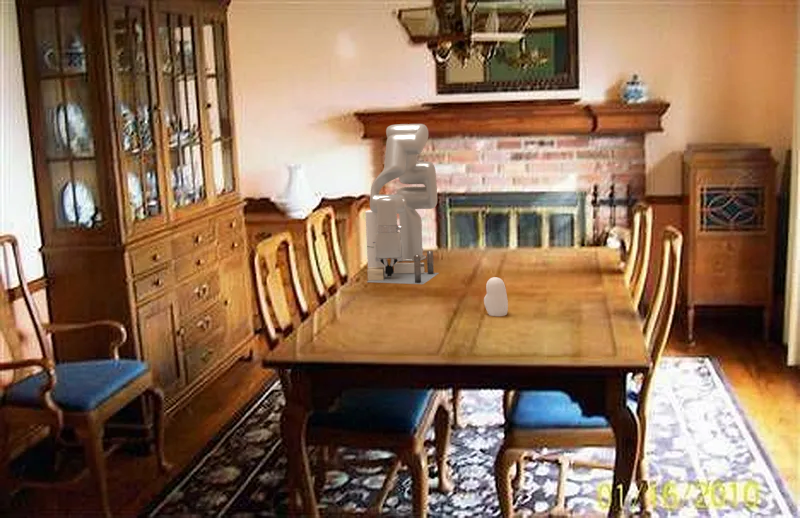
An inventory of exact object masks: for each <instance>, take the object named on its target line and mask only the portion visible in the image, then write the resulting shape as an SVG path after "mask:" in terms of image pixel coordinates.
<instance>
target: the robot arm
mask: <svg viewBox="0 0 800 518" xmlns="http://www.w3.org/2000/svg"><path fill="white" fill-rule="evenodd" d="M385 133H386V138H387V139H386V142H385V143H386V145H385V154H384V168H383V170H382V171H381V172H380V173H379V174H378V175H377V177H375V179H374V181H373V183H372V185H371V188H370V195H369V210H371V211H372V212H373V213H376V214H377V215H378V232H377V234H376V245H375V253H376V258H375V261H378V262H381V263H382V264H384V266H385V272H386V274H387V276H392V274H393V271H394V264H395V263H396V262H397V263H399V262H414V256H415V255H420V257H421V260H420V261H423V260H427V255H425V254H423V250H424V248H423V233H422V232H423V228H422V226H423V225H422V224H423V223H422V217H421V215H420V213H418V211H417V210H431V209H434V208H436V206H437V204H438V186H437V173H436V168H435V165H434V164H433V162H431V161H418V157H417V156H418V155H420V154H421V153H422V152H423V151H424V148H425V146H426V144H427V143H428V139H429V128H428V127H427V125H425V124H424V123H409V124H408V123H400V124H397V123H396V124H391V125H389V126H387V127H386V130H385ZM396 179H398V180H399V182H400V183H401V184H404V185H423V186H403V187H400V188H399V189H398V190H397V191H396V194H380V191H381V190H382V188H383V187H384V186H385V185H387V184H388V183H390V182H391V181H394V180H396ZM398 217H399V218H398ZM398 219H399V225H398ZM389 259H390V263H389V261H388V260H389Z"/></svg>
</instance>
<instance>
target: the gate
mask: <svg viewBox="0 0 800 518" xmlns="http://www.w3.org/2000/svg"><path fill="white" fill-rule="evenodd" d="M393 271H394V273H415V271H414V262H396V263H395V264H394V265H393ZM421 273H425V262H421Z"/></svg>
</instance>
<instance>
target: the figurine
mask: <svg viewBox="0 0 800 518" xmlns="http://www.w3.org/2000/svg"><path fill="white" fill-rule="evenodd" d="M485 289H486V294H485V296H484V297H483V303H484V308H485V309H486V312H487V314H488V315H489V316H491V317H504V316H506V315H507V314H508V311H509V310H508V309H509V301H508V294H507V289H506V286H505V282H504V280H503V279H502V278H500V277H495V276H494V277H490V278H489V279H488V280H487V282H486V286H485Z"/></svg>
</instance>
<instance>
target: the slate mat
mask: <svg viewBox="0 0 800 518" xmlns="http://www.w3.org/2000/svg"><path fill="white" fill-rule="evenodd" d="M439 274H440V272H434V274H428V271H426V272H425V273H421V283H415V273H394V270H393V274H392V276H387V274H386V272H385V271H384V276H385V277H384V280H367V281H366V283H376V284H377V283H379V284H381V283H382V284H401V285H402V284H406V285H425V284H426V283H427V282H429V281H431V280H432V279H433V278H434V277H436V276H437V275H439Z"/></svg>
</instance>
